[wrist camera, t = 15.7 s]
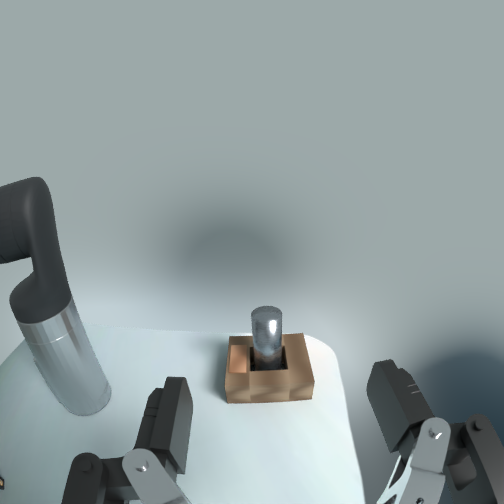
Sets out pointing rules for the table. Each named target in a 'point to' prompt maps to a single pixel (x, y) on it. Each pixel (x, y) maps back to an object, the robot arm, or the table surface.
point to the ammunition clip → (1, 483)
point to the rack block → (268, 373)
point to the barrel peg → (267, 338)
